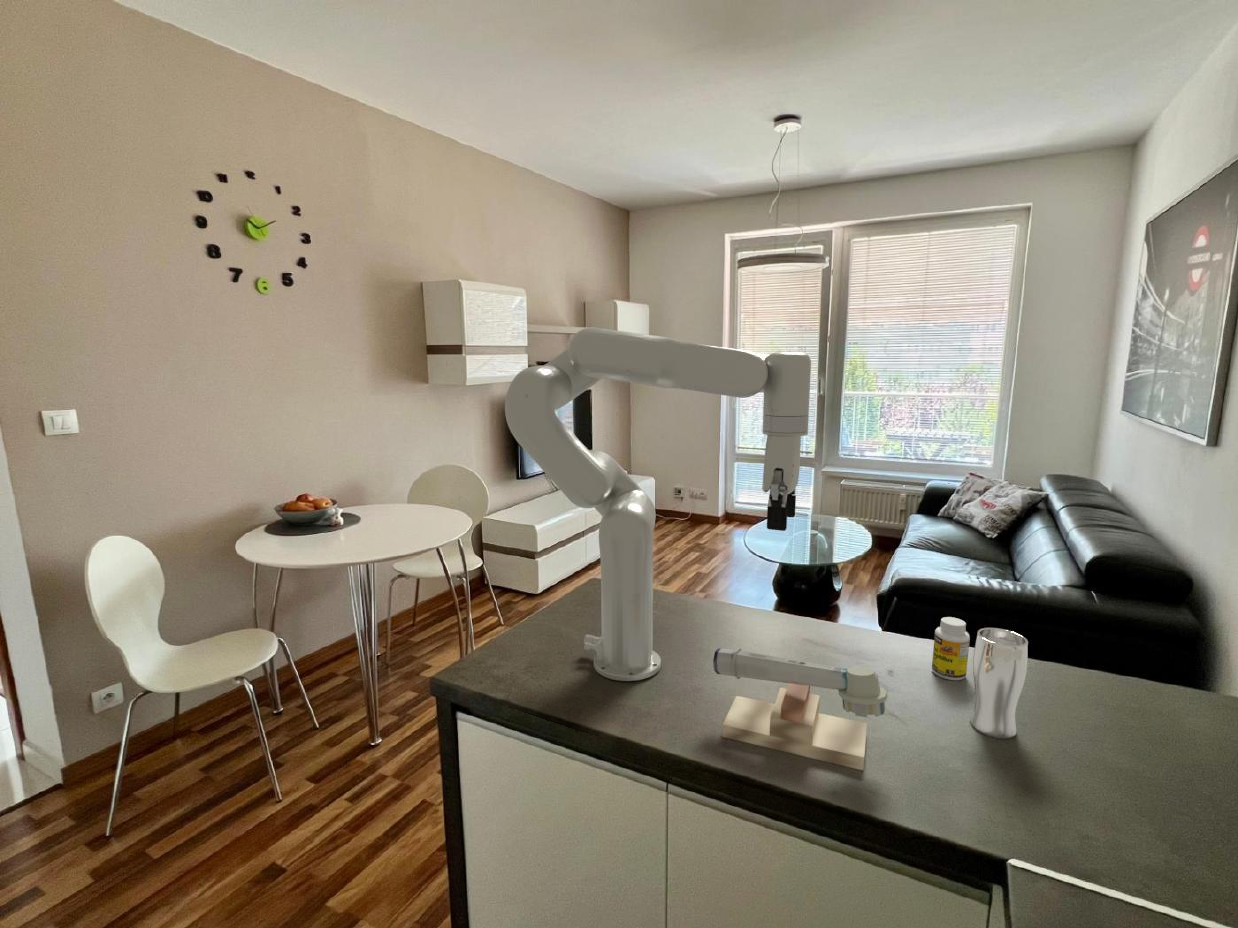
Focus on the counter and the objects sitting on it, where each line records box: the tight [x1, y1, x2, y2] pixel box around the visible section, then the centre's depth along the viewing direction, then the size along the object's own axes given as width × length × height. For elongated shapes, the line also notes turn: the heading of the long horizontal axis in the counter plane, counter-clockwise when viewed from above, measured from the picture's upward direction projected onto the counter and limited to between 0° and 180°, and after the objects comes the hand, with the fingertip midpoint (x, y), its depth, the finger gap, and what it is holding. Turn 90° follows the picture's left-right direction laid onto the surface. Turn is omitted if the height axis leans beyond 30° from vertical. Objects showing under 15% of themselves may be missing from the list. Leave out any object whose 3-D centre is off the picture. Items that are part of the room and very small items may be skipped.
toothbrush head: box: [712, 647, 888, 718], centre depth 93 cm, size 5×7×25 cm
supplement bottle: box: [931, 616, 971, 681], centre depth 112 cm, size 6×6×10 cm
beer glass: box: [970, 627, 1029, 740], centre depth 95 cm, size 7×7×15 cm
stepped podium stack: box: [722, 683, 868, 771], centre depth 94 cm, size 20×9×7 cm, turn 66°
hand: (781, 522), depth 109 cm, fingers open, 9 cm apart
